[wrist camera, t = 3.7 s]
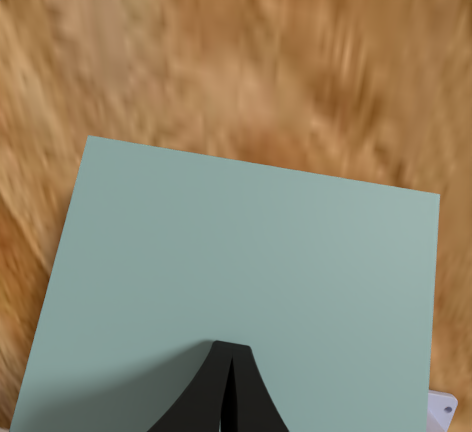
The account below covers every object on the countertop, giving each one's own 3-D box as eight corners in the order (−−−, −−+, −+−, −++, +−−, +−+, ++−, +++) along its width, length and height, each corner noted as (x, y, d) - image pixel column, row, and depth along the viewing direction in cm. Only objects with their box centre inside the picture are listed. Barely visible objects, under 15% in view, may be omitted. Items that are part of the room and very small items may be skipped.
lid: (409, 524, 11) (420, 539, 10) (13, 453, 11) (0, 464, 10) (430, 197, 13) (439, 194, 12) (94, 141, 13) (88, 135, 12)
